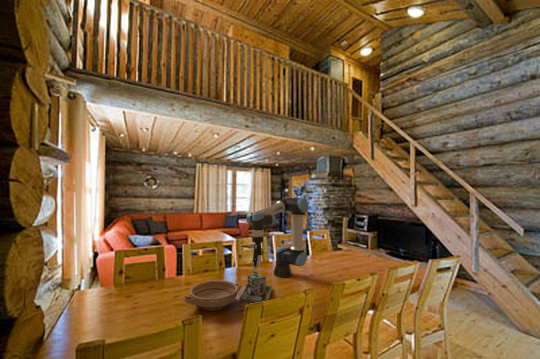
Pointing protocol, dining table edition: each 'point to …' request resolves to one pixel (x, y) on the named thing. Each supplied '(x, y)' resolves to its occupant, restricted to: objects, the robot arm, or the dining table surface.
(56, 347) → the dining table surface
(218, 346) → the dining table surface
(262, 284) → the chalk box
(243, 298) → the motor base
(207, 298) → the ceramic bowl
